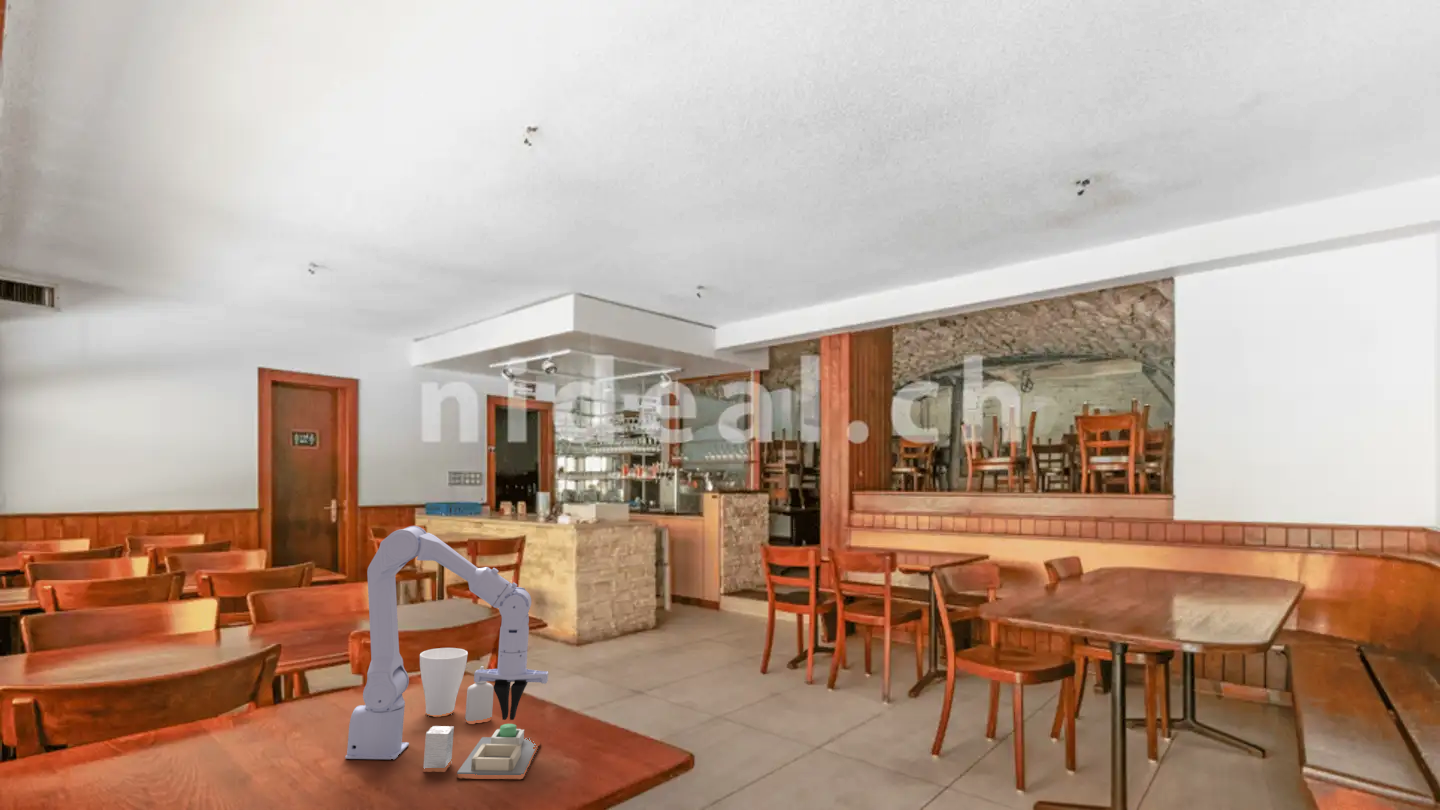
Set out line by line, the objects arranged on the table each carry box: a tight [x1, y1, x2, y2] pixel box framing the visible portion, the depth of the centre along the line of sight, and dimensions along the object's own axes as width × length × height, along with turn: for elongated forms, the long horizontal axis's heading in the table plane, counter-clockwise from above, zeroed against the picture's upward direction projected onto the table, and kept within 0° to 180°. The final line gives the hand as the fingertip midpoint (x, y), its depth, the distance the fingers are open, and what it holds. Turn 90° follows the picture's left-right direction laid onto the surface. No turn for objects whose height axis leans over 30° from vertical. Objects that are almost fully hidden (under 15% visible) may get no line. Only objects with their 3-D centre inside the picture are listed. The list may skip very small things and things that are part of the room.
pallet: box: [456, 728, 537, 775], centre depth 146 cm, size 12×18×3 cm, turn 3°
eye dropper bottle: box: [464, 665, 495, 721], centre depth 168 cm, size 4×6×12 cm
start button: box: [499, 723, 517, 737], centre depth 151 cm, size 3×3×2 cm
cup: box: [419, 647, 469, 715], centre depth 172 cm, size 10×10×14 cm
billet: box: [423, 725, 455, 769], centre depth 142 cm, size 4×4×7 cm
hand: (508, 718), depth 152 cm, fingers closed
